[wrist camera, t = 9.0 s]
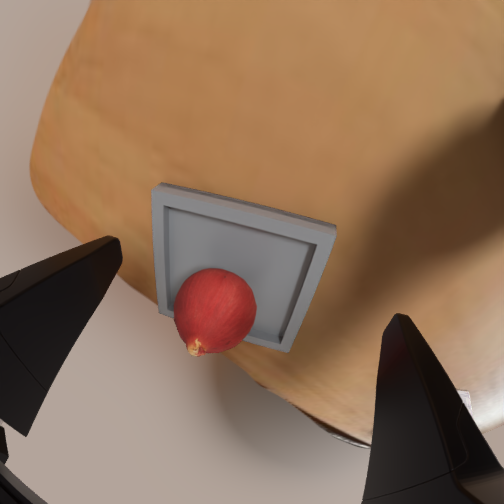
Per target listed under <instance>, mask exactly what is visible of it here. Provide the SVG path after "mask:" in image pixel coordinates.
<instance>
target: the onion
mask: <svg viewBox="0 0 504 504" xmlns="http://www.w3.org/2000/svg"><path fill="white" fill-rule="evenodd" d="M256 311H257V305H256V301H255V298H254V294H253V291H252V289H251V288H250V286H249V285H248V284H247V283H246V281H245V280H244V279H243V278H241V277H240V276H238V275H236V274H235V273H233V272H230V271H227V270H224V269H219V268H207V269H202V270H200V271H198V272H196V273H194V274H192V275H191V276H190V277H188V278H187V279H186V280H185V281H184V283H183V284H182V286H181V288H180V289H179V291H178V293H177V295H176V297H175V302H174V321H175V324H176V327H177V330H178V332H179V335H180V337H181V338H182V340H183V341H184V342H185V343H186V347H187V350H188V352H189V353H190V354H191V355H192V356H196V357H198V356H201V355H205V353H219V352H222V351H225V350H228V349H231V348H233V347H235V346H236V345H238V344H239V343H240V342H241V341H242V340H243V339H244V338H245V337H246V336H247V334H248V333H249V332H250V330H251V328H252V326H253V324H254V321H255V317H256Z"/></svg>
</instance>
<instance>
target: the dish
mask: <svg viewBox="0 0 504 504" xmlns="http://www.w3.org/2000/svg"><path fill="white" fill-rule="evenodd" d="M151 193H152V231H153V251H154V266H155V278H156V290H157V300H158V309H159V313H160V314H163V315H165V316H168V317H171V318H174V302H175V297H176V295H177V293H178V291H179V289H180V288H181V286H182V284H183V283H184V281H185V280H186V279H187V278H188V277H190V276H191V275H192V274H194V273H196V272H198V271H200V270H202V269H207V268H219V269H224V270H227V271H230V272H233V273H235V274H236V275H238V276H240V277H241V278H243V279H244V280H245V281H246V283H247V284H248V285H249V286H250V288H251V289H252V291H253V294H254V298H255V301H256V305H257V311H256V317H255V321H254V324H253V326H252V328H251V330H250V332H249V333H248V334H247V336H246V337H245V338H244V339H243V340H242V341H246V342H249V343H253V344H256V345H260V346H264V347H267V348H271V349H275V350H279V351H283V352H287V353H289V351H290V349H291V346H292V344H293V342H294V340H295V338H296V335H297V333H298V331H299V329H300V326H301V324H302V322H303V319H304V317H305V315H306V312H307V310H308V308H309V305H310V303H311V300H312V298H313V296H314V293H315V291H316V288H317V286H318V283H319V281H320V278H321V276H322V273H323V271H324V268H325V266H326V263H327V260H328V258H329V255H330V252H331V250H332V247H333V244H334V242H335V239H336V236H337V235H336V225H334V224H330V223H327V222H323V221H320V220H316V219H312V218H309V217H305V216H301V215H298V214H294V213H290V212H286V211H282V210H279V209H275V208H271V207H267V206H263V205H259V204H255V203H251V202H247V201H243V200H239V199H234V198H230V197H226V196H222V195H217V194H213V193H209V192H204V191H200V190H195V189H191V188H186V187H181V186H177V185H172V184H167V183H160V184H159V185H157V186H156V187H155V188H153V189H152V190H151Z"/></svg>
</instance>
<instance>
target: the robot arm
mask: <svg viewBox="0 0 504 504" xmlns="http://www.w3.org/2000/svg"><path fill="white" fill-rule="evenodd" d="M122 260H123V257H122V251H121V245H120V241H119V239H118V238H116V237H113V236H105V237H102V238H99V239H96V240H94V241H91V242H88V243H86V244H83V245H80V246H78V247H75V248H72V249H70V250H68V251H65V252H62V253H59V254H57V255H54V256H52V257H49V258H47V259H45V260H42V261H40V262H37V263H35V264H32V265H30V266H28V267H25V268H23V269H21V270H18V271H16V272H14V273H11V274H9V275H6V276H4V277H2V278H0V504H47V503H46V502H45V501H44V500H43V499H41V498H40V497H39V496H38V495H37V494H35V493H34V492H33V491H32V490H31V489H29V488H28V487H27V486H26V485H25V484H24V483H23V482H22V481H20V480H19V479H18V478H17V477H16V476H15V475H14V474H13V473H12V472H11V471H10V470H9V469H8V468H7V467H6V466H5V463H6V461H7V459H8V457H9V456H8V450H7V444H6V437H5V430H4V428H3V427H2V426H1V424H2V423H3V421H4V422H5V423H7V424H8V425H9V426H11V427H12V428H13V429H15V430H16V431H18V432H19V433H21V434H22V435H23V436H25V437H26V436H27V435H28V433H29V431H30V429H31V426H32V424H33V422H34V420H35V418H36V415H37V413H38V411H39V409H40V407H41V405H42V403H43V401H44V399H45V397H46V395H47V393H48V391H49V389H50V387H51V385H52V383H53V381H54V379H55V377H56V375H57V374H58V372H59V370H60V368H61V367H62V365H63V363H64V361H65V359H66V358H67V356H68V354H69V352H70V351H71V349H72V347H73V346H74V344H75V342H76V340H77V339H78V337H79V335H80V334H81V332H82V330H83V329H84V327H85V326H86V324H87V322H88V320H89V319H90V318H91V316H92V315H93V313H94V311H95V310H96V308H97V307H98V305H99V304H100V302H101V300H102V299H103V297H104V295H105V294H106V291H107V290H108V288H109V286H110V284H111V282H112V280H113V279H114V277H115V275H116V273H117V271H118V270H119V268H120V266H121V264H122ZM362 500H363V501H362V503H361V504H504V468H503V467H502V466H501V465H500V463H499V462H498V460H497V458H496V456H495V455H494V453H493V451H492V450H491V448H490V446H489V445H488V443H487V441H486V440H485V438H484V437H483V435H482V433H481V432H480V430H479V428H478V427H477V425H476V423H475V421H474V420H473V418H472V416H471V414H470V413H469V411H468V409H467V407H466V405H465V404H464V403H463V400H462V398H461V397H460V395H459V393H458V392H457V390H456V388H455V386H454V385H453V383H452V381H451V380H450V378H449V376H448V375H447V373H446V372H445V370H444V368H443V367H442V365H441V363H440V362H439V360H438V359H437V357H436V356H435V354H434V353H433V351H432V349H431V348H430V346H429V345H428V343H427V342H426V340H425V339H424V337H423V336H422V334H421V333H420V331H419V330H418V329H417V327H416V326H415V324H414V323H413V321H412V320H411V318H410V317H409V316H408V315H404V314H400V313H397V314H395V315H394V316H393V318H392V319H391V321H390V322H389V324H388V326H387V327H386V329H385V330H384V332H383V336H382V343H381V352H380V360H379V367H378V374H377V384H376V400H375V414H374V425H373V435H372V444H371V451H370V459H369V466H368V472H367V478H366V484H365V489H364V494H363V499H362Z"/></svg>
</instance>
